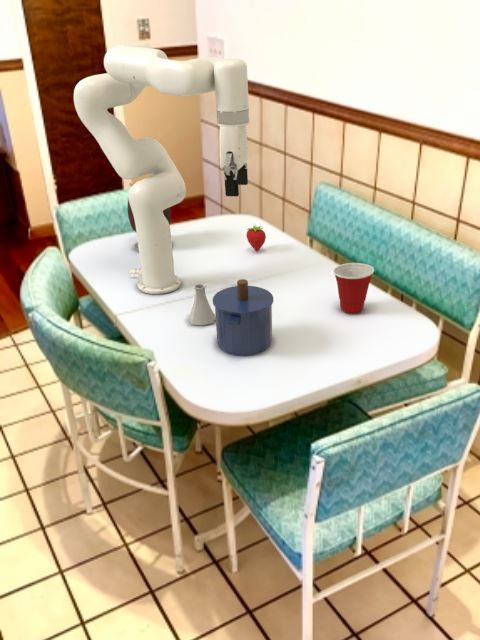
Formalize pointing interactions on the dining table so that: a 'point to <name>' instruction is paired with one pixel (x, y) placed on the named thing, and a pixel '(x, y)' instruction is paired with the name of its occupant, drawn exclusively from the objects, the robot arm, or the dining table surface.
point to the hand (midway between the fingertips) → (237, 190)
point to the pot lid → (243, 299)
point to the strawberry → (256, 237)
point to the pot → (244, 332)
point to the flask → (201, 307)
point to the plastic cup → (353, 285)
